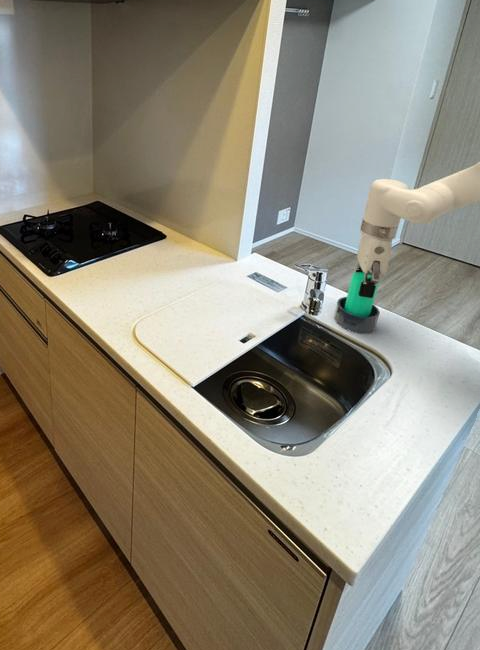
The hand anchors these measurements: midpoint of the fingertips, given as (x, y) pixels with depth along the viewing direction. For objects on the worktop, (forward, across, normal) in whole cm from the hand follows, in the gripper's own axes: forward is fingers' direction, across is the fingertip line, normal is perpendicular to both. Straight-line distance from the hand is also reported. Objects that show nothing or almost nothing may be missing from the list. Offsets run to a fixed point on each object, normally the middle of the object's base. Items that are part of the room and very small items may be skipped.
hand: (362, 289), depth 110 cm
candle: (+7, 0, 0) cm, 7 cm away
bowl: (+11, 0, 0) cm, 11 cm away
